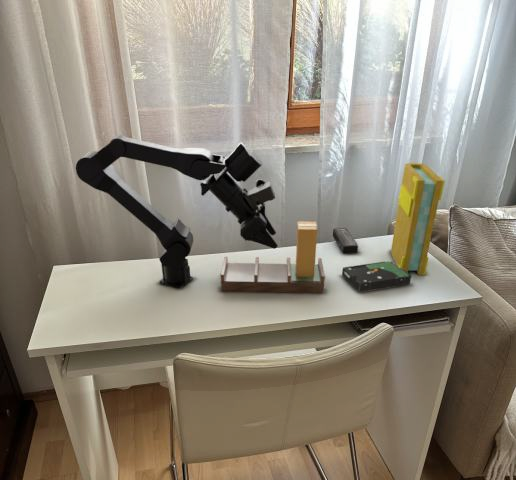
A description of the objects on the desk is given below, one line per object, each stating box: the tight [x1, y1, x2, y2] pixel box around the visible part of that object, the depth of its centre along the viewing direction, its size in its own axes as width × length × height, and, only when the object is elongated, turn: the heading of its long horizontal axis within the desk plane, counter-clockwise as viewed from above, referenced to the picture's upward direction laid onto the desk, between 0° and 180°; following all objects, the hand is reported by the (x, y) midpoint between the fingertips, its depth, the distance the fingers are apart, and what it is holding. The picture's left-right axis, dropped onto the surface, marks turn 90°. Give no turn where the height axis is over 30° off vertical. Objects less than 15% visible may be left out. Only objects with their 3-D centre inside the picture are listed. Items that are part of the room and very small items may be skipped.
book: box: [390, 162, 446, 276], centre depth 134 cm, size 17×7×25 cm, turn 179°
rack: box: [220, 256, 326, 294], centre depth 128 cm, size 26×11×5 cm, turn 88°
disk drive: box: [341, 261, 412, 293], centre depth 130 cm, size 10×3×15 cm
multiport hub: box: [332, 227, 359, 254], centre depth 151 cm, size 4×14×2 cm, turn 5°
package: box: [295, 221, 318, 277], centre depth 124 cm, size 4×6×13 cm
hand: (275, 240), depth 124 cm, fingers open, 9 cm apart
